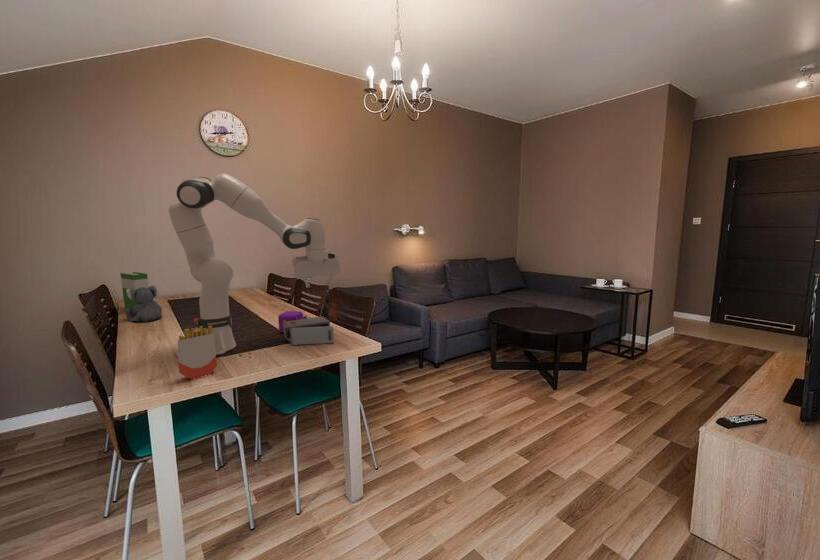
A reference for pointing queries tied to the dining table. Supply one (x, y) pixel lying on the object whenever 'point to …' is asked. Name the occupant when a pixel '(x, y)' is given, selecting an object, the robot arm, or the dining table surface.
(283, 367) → the dining table surface
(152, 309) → the koala plush
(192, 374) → the french fries container
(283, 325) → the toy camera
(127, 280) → the green and white box
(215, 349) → the robot arm
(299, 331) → the side door
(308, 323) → the camera housing
